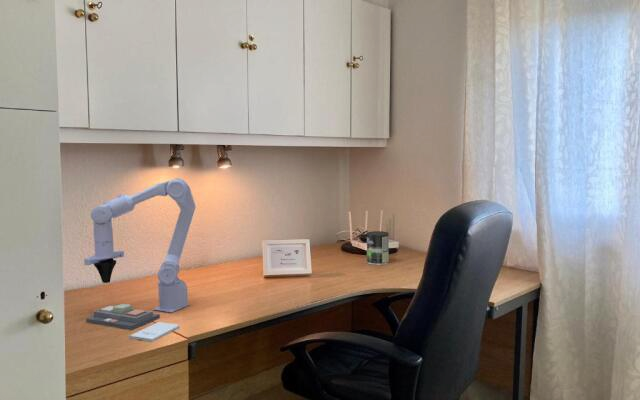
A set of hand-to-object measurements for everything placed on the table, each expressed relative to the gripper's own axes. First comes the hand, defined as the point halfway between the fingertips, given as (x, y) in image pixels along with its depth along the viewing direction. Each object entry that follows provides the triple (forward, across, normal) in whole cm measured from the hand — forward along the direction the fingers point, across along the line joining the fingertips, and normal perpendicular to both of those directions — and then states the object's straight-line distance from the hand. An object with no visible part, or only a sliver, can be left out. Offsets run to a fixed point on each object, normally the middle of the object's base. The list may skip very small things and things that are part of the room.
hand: (106, 282), depth 171 cm
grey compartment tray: (+10, +4, +10) cm, 15 cm away
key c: (+9, +4, +16) cm, 19 cm away
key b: (+8, +3, +11) cm, 14 cm away
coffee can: (+11, -105, +58) cm, 120 cm away
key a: (+9, +3, +5) cm, 11 cm away
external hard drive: (+11, +9, +28) cm, 32 cm away
